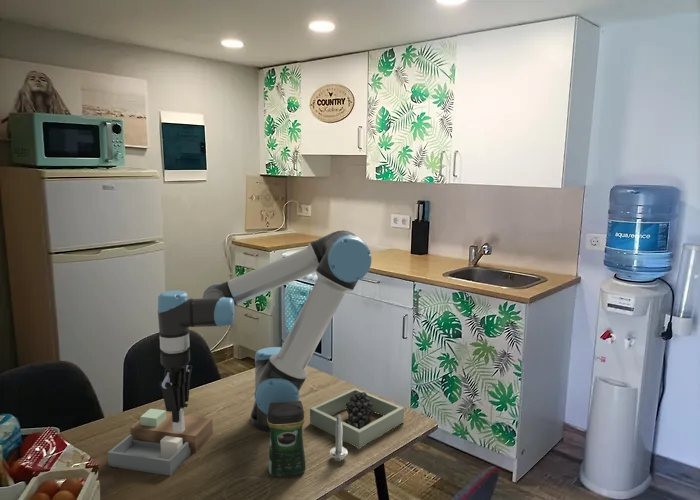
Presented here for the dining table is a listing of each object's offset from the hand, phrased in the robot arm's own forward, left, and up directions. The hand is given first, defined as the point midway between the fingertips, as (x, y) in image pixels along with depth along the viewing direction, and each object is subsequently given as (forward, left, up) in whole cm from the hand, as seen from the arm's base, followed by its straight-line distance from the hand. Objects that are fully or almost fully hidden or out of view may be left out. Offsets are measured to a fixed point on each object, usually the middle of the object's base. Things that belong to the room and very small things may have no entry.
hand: (179, 430), depth 141 cm
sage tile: (+11, -5, -1) cm, 12 cm away
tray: (+5, +5, -6) cm, 10 cm away
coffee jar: (-32, +1, -6) cm, 32 cm away
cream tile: (0, +2, -3) cm, 4 cm away
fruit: (-45, -26, -7) cm, 52 cm away
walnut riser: (+5, -6, -6) cm, 10 cm away
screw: (-44, -7, -6) cm, 44 cm away
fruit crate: (-45, -27, -6) cm, 52 cm away
